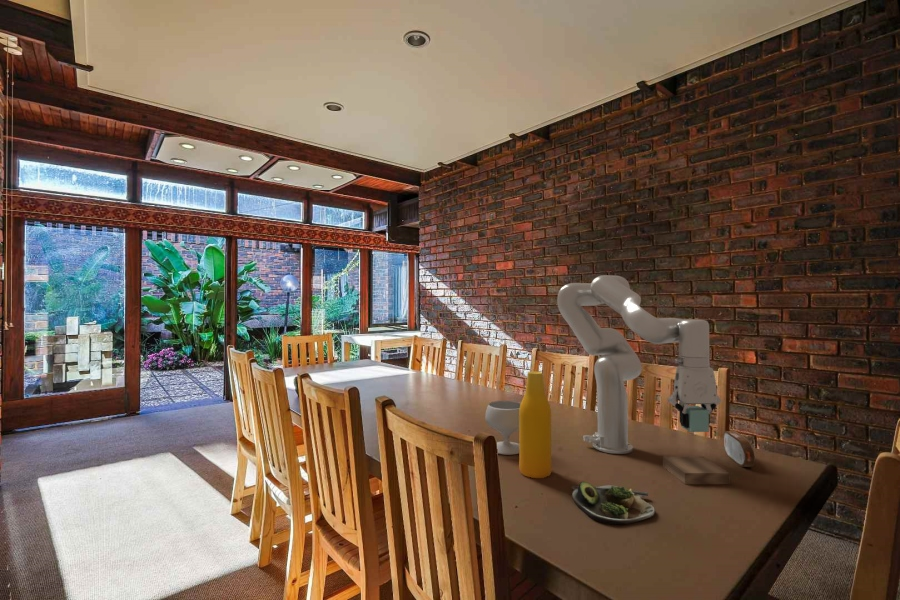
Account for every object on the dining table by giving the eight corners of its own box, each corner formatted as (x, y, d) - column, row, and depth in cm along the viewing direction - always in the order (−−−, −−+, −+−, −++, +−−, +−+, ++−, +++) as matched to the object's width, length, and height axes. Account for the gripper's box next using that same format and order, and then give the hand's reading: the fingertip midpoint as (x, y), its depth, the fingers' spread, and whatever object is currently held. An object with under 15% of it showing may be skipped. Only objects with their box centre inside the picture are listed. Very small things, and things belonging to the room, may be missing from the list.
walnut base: (685, 484, 114) (685, 473, 114) (662, 466, 126) (662, 456, 126) (729, 484, 114) (729, 473, 114) (703, 466, 125) (703, 456, 126)
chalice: (536, 451, 139) (536, 405, 139) (504, 460, 131) (504, 412, 131) (507, 439, 151) (507, 397, 151) (477, 447, 143) (476, 403, 143)
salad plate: (627, 486, 113) (627, 469, 113) (676, 520, 96) (676, 499, 96) (561, 494, 109) (561, 476, 109) (601, 530, 92) (600, 509, 92)
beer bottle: (516, 476, 119) (515, 374, 119) (522, 464, 128) (521, 369, 128) (549, 481, 116) (549, 376, 116) (553, 468, 125) (552, 370, 125)
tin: (756, 471, 122) (755, 442, 122) (743, 471, 122) (743, 442, 122) (732, 453, 136) (732, 427, 136) (721, 452, 137) (721, 427, 137)
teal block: (691, 432, 117) (690, 410, 117) (681, 426, 122) (681, 406, 122) (709, 431, 117) (708, 410, 117) (698, 426, 122) (698, 406, 122)
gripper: (670, 364, 116) (671, 430, 116) (732, 364, 116) (733, 430, 116) (657, 361, 123) (658, 422, 123) (715, 360, 123) (716, 422, 123)
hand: (694, 425), depth 119 cm, fingers closed on teal block, 5 cm apart
